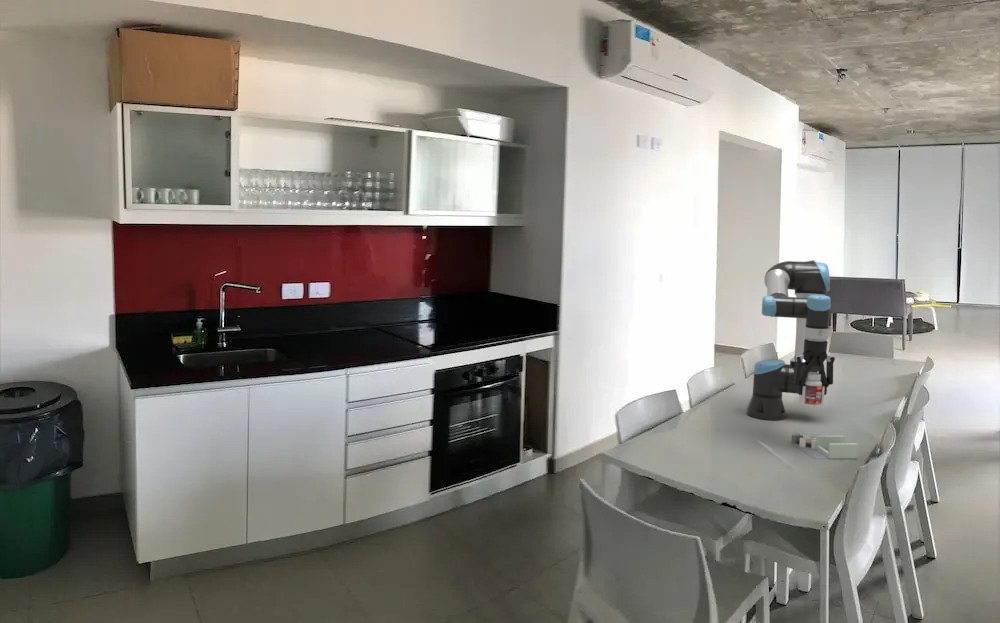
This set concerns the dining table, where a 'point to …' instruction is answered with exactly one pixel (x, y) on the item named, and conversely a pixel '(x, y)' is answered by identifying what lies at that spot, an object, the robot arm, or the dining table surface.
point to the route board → (808, 446)
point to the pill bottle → (813, 389)
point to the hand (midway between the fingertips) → (811, 403)
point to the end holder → (836, 447)
